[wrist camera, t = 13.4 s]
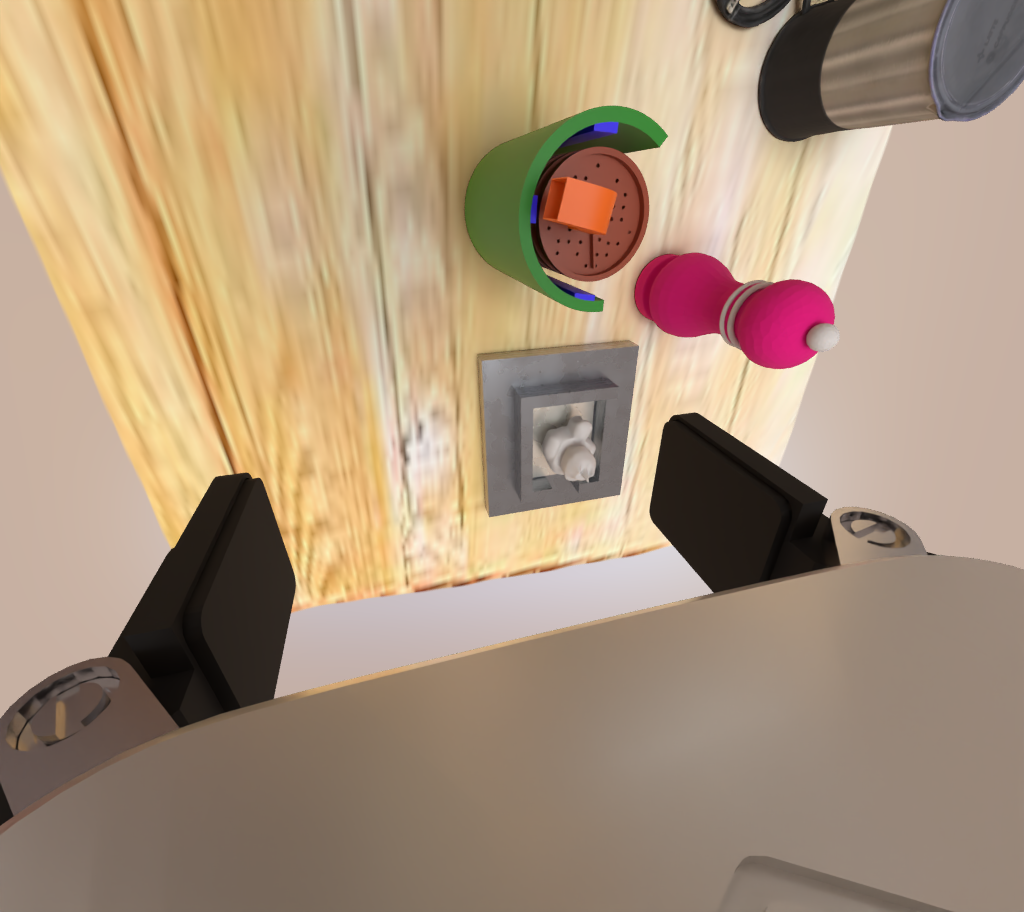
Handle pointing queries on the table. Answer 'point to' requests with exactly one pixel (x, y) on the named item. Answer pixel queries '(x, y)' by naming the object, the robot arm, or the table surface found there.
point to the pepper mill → (737, 309)
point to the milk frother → (885, 62)
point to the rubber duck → (571, 450)
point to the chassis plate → (552, 421)
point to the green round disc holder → (564, 202)
